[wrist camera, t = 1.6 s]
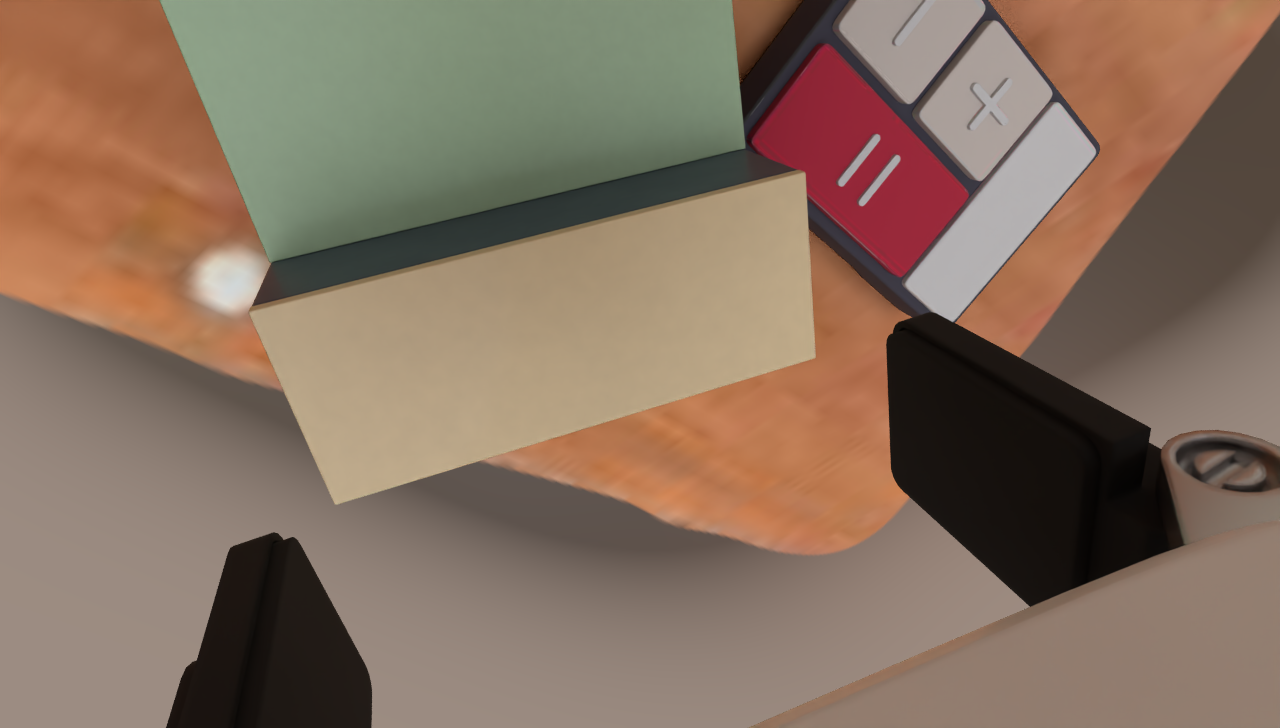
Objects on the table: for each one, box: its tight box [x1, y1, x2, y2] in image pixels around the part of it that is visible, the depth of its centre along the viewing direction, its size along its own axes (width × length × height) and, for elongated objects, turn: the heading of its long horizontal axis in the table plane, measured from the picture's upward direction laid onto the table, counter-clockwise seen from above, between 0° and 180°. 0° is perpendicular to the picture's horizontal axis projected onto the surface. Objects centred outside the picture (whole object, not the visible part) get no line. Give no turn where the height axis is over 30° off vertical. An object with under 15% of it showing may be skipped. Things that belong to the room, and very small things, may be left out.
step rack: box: [160, 0, 816, 505], centre depth 22 cm, size 23×15×12 cm, turn 10°
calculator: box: [740, 0, 1100, 323], centre depth 33 cm, size 11×4×15 cm
